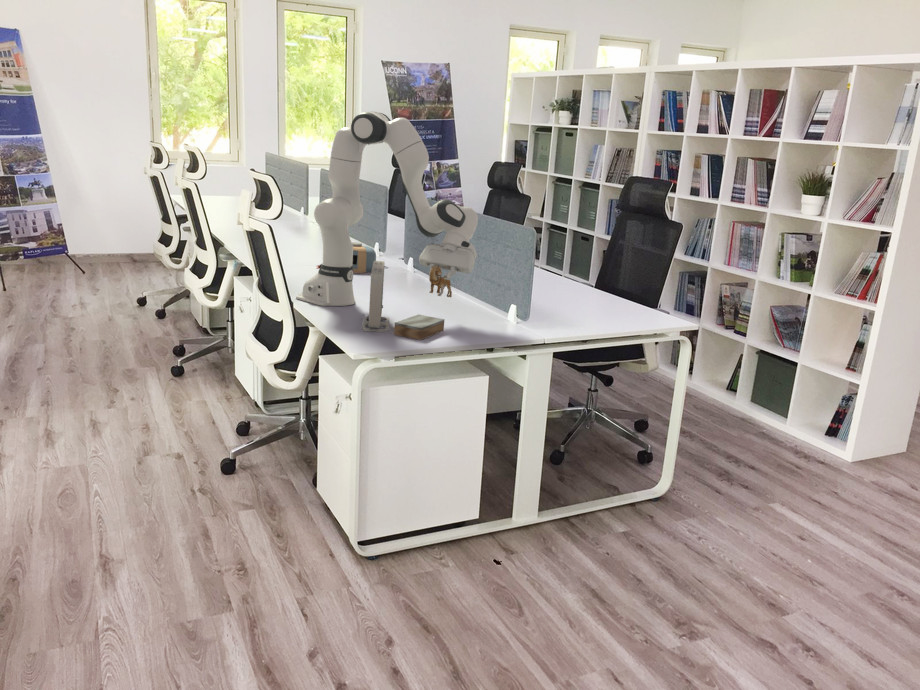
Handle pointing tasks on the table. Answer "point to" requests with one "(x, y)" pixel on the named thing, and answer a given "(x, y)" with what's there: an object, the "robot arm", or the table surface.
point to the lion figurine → (439, 281)
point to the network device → (376, 300)
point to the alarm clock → (362, 258)
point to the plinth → (419, 327)
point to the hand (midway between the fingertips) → (438, 277)
